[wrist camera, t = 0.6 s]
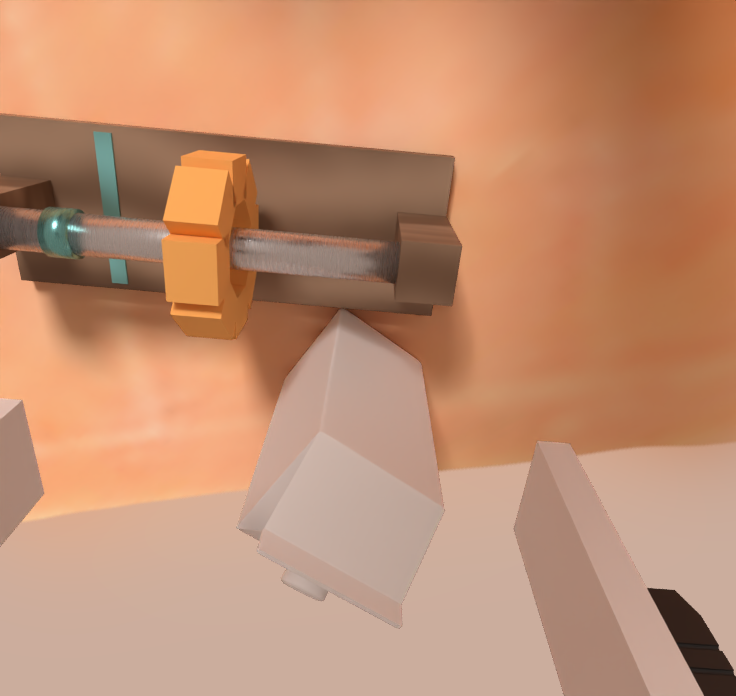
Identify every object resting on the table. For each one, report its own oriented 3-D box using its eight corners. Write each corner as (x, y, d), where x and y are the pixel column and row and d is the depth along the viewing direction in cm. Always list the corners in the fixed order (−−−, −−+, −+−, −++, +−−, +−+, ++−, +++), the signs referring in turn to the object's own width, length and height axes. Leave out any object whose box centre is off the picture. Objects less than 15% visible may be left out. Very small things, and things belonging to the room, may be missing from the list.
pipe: (-21, 194, 29) (-56, 204, 26) (426, 235, 29) (430, 248, 27) (-10, 242, 30) (-43, 255, 27) (420, 281, 30) (424, 296, 28)
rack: (-1, 113, 32) (-113, 119, 25) (452, 156, 32) (474, 174, 25) (30, 275, 36) (-57, 321, 29) (430, 310, 37) (442, 364, 29)
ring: (216, 144, 30) (155, 164, 22) (258, 148, 31) (213, 169, 22) (221, 296, 34) (171, 362, 26) (258, 300, 34) (220, 366, 26)
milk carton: (341, 304, 37) (309, 493, 19) (422, 361, 38) (457, 580, 21) (284, 377, 39) (211, 600, 22) (362, 427, 41) (350, 670, 24)
